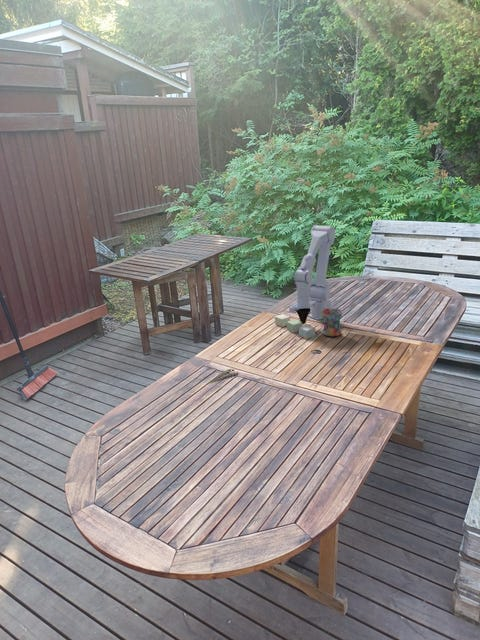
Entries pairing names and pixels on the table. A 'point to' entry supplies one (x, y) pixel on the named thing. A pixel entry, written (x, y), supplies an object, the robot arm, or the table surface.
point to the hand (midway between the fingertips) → (303, 323)
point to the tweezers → (223, 376)
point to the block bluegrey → (307, 331)
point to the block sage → (293, 325)
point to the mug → (331, 321)
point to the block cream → (281, 320)
